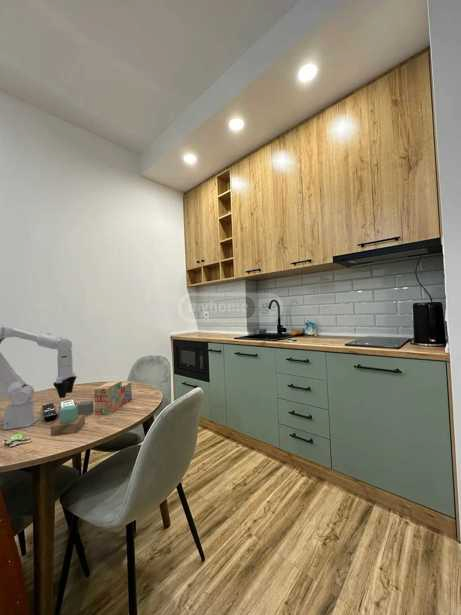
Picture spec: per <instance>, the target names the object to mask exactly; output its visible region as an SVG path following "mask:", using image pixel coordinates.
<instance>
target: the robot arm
mask: <svg viewBox="0 0 461 615" xmlns="http://www.w3.org/2000/svg"><path fill="white" fill-rule="evenodd" d="M6 338H7V339H8V338H20V339H23V340H27V341H31V342H34V343H36V344H37V345H38V346H39V347H42V348H47V349H51V350H57V376H56V379H55V382H53V386H54V388H55V389H56V392H57V394H58V397H59V399H65V398H66V397H67V394H72V393H73V390H74V384H75V382H76V379H77V374H76V373H75V372H74V370H73V350H72V347H73V341H71V340H70V339H68V338H64V337H63V336H55V335H52V333H51V332H47V333H46V332H45V333H41V334H37V333H34V332H31V331H28V330H23V329H22V328H21V329H20V328H17V327H14V326H7V325H6V326H5V325H2V324H0V345H1V343H2V342H3V341H4V340H5V339H6ZM0 380H1V381H2V382H3V384H4V385H5V387H6V388H7V392H8V394H9V396H10V402H11V404H8V405H7V406H5V408H4V412H3V428H2V430H3V429H4V430H11V429H12V430H13V429H20V428H26V427H28V428H29V427H30V426H32V425H33V424H34V423H36V422H37V421H38V420H39V417H36V418H35V408H34V407H35V406H34V405H35V404H34V403H35V402H34V401H35V400H34V399H33V398H32V397H33V396H34V394H35V389H34V388H33V386H32V385H29V384H27V383H26V381H24V380H23V379H21V377H20V376H19V375H18V373H17V372H16V371H15V369H14V368H13V367H12V365H11V364H10V363H9V362H8V360H7V359H6V358H5V357H4V355H3V354H2V353H1V351H0Z"/></svg>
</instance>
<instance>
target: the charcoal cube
mask: <svg viewBox="0 0 461 615" xmlns="http://www.w3.org/2000/svg"><path fill="white" fill-rule="evenodd" d="M77 405H78V415H85V416H90V415H92V413H94V401H93V400H88V401H81V402H80V403H79V404H77Z"/></svg>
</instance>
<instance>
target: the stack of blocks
mask: <svg viewBox="0 0 461 615" xmlns="http://www.w3.org/2000/svg"><path fill="white" fill-rule="evenodd" d="M131 383H132V382H131V381H129V382H128V381H127V382H123V381H122V380H116V381H114V380H111V381H108V382H105V383H104V384H102V385H99V386H98V387H97V386H96V387H95V388H94V412H95V413H94V415H95V416H109V415H110V414H112V413H113V412H116V411H117V410H118V409H119V408H121V407H122V406H123V404H124V405H125V404H127V403H128V402H130V401H132V399H133V398H132V384H131ZM129 400H130V401H129ZM126 402H127V403H126ZM120 406H121V407H120Z"/></svg>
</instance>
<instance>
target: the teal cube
mask: <svg viewBox="0 0 461 615" xmlns="http://www.w3.org/2000/svg"><path fill="white" fill-rule="evenodd" d="M78 405H79V404H73V405H64V406H63V407H61V408H60V409H59V411H58V413H59V416H58V417H59V419H60V424H61V423H68V422H74V421H75V420H76V419H77V418H78Z"/></svg>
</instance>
